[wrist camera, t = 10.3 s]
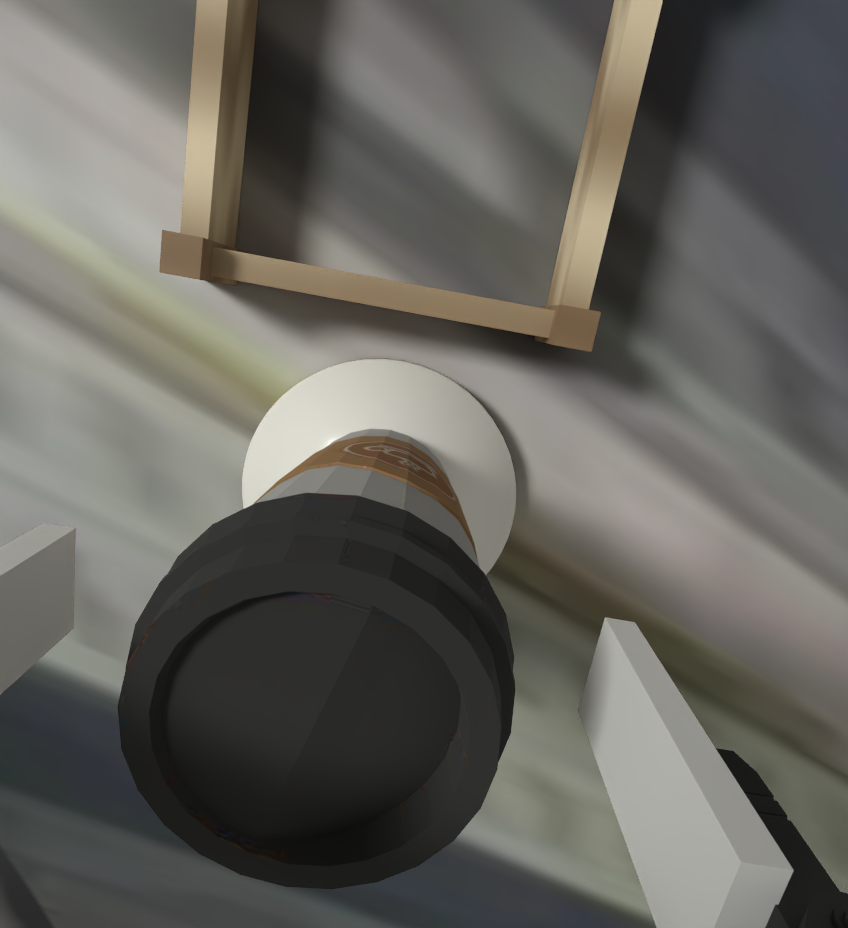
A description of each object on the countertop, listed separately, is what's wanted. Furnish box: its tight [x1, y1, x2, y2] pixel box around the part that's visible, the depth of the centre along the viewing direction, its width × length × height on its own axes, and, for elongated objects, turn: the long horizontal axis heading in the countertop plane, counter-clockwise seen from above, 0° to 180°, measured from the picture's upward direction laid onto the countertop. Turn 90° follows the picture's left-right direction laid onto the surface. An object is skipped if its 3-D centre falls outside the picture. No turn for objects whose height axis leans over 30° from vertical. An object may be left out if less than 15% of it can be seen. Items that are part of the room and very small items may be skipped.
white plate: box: [242, 358, 516, 575], centre depth 26 cm, size 12×12×1 cm
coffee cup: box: [118, 429, 515, 889], centre depth 18 cm, size 8×8×15 cm
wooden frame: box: [160, 0, 663, 352], centre depth 21 cm, size 15×15×4 cm
